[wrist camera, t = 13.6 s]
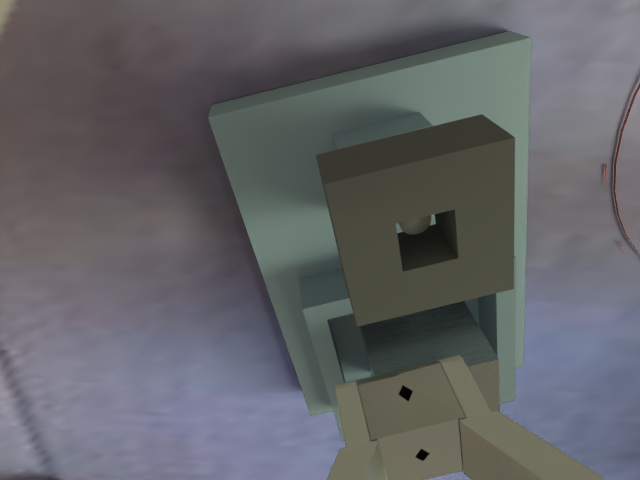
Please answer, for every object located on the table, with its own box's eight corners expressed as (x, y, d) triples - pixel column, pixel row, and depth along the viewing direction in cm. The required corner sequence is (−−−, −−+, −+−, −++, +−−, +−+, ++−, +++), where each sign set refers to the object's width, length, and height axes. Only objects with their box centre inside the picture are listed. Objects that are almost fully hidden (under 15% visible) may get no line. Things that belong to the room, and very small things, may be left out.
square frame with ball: (486, 252, 20) (513, 288, 18) (346, 286, 20) (356, 326, 18) (482, 113, 17) (515, 137, 14) (315, 155, 17) (324, 184, 15)
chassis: (509, 343, 32) (572, 440, 26) (308, 391, 32) (320, 499, 26) (509, 30, 22) (615, 62, 15) (211, 104, 22) (192, 167, 15)
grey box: (457, 350, 29) (507, 449, 23) (369, 371, 29) (397, 475, 23) (451, 280, 26) (507, 373, 20) (354, 303, 26) (381, 402, 20)
